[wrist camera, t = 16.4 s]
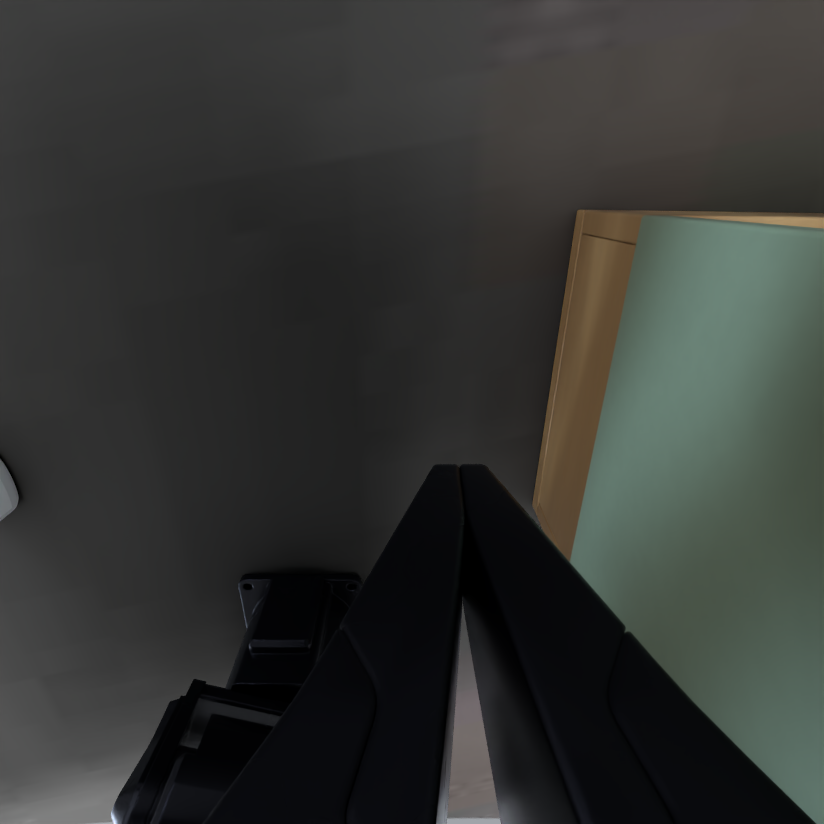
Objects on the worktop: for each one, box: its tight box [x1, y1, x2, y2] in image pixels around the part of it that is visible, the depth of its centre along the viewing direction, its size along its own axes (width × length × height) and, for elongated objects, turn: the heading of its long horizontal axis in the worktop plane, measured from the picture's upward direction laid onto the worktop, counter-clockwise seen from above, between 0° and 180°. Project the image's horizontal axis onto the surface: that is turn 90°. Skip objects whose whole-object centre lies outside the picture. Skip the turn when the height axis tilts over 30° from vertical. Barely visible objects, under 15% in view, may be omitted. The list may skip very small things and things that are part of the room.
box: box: [532, 210, 824, 562], centre depth 18 cm, size 14×14×6 cm
